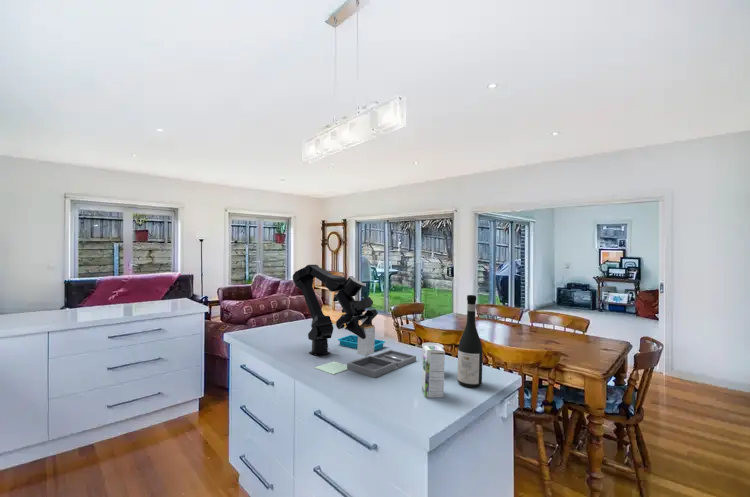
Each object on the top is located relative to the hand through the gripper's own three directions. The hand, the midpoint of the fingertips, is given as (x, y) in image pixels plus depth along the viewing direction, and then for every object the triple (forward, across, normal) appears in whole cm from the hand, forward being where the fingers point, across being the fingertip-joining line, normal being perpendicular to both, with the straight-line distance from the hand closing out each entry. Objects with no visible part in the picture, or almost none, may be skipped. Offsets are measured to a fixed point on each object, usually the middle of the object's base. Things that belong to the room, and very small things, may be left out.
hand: (369, 337), depth 129 cm
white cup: (+22, +14, -5) cm, 27 cm away
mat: (+2, -8, +16) cm, 18 cm away
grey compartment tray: (+9, +8, +8) cm, 15 cm away
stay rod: (+9, +15, +8) cm, 19 cm away
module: (+4, 0, +6) cm, 7 cm away
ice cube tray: (-7, +23, +25) cm, 35 cm away
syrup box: (+29, -3, -12) cm, 31 cm away
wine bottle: (+32, +13, -16) cm, 38 cm away
